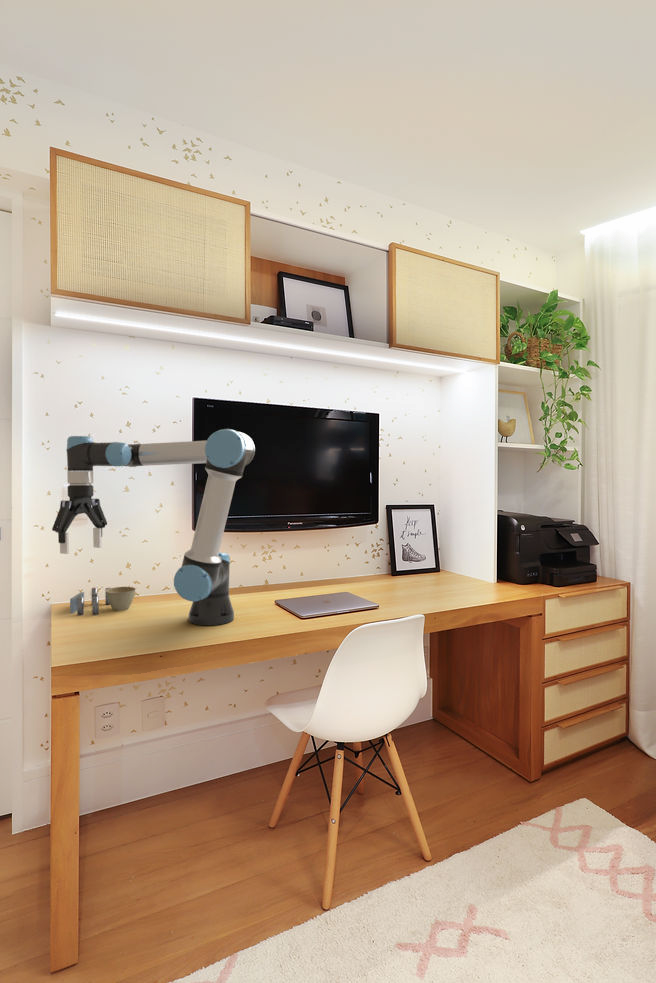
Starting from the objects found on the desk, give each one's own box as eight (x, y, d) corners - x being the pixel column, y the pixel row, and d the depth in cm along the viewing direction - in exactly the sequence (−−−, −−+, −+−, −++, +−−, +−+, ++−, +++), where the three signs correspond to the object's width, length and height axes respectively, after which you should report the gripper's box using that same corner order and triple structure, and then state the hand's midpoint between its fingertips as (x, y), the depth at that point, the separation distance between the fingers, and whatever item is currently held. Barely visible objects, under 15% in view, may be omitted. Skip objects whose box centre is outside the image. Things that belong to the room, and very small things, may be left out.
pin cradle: (111, 603, 197) (112, 587, 197) (97, 615, 181) (97, 598, 181) (83, 603, 196) (83, 587, 196) (66, 615, 180) (66, 598, 180)
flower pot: (116, 604, 196) (116, 585, 195) (140, 606, 194) (141, 587, 193) (99, 611, 186) (99, 591, 186) (125, 613, 184) (125, 593, 184)
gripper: (100, 483, 181) (101, 544, 182) (38, 485, 158) (39, 555, 159) (117, 483, 179) (118, 545, 179) (57, 485, 155) (58, 556, 156)
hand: (81, 550), depth 169 cm, fingers open, 13 cm apart
